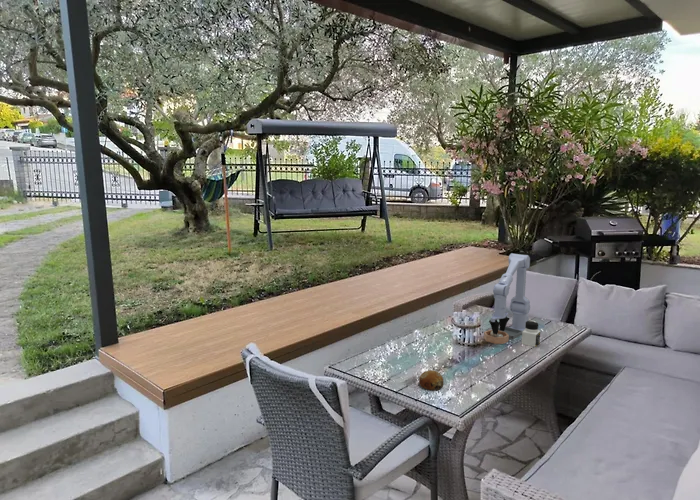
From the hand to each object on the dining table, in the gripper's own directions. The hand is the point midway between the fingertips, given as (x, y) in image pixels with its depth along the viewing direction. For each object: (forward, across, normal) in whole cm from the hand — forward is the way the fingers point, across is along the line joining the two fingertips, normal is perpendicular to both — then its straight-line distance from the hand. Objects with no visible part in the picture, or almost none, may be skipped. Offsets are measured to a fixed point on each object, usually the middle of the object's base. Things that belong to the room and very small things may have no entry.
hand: (498, 332), depth 247 cm
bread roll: (+5, +68, +7) cm, 68 cm away
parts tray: (+5, -13, -2) cm, 14 cm away
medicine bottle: (+5, -8, +14) cm, 17 cm away
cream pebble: (+4, -1, -3) cm, 5 cm away
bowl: (+5, 0, -2) cm, 5 cm away
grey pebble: (+3, 0, 0) cm, 4 cm away
